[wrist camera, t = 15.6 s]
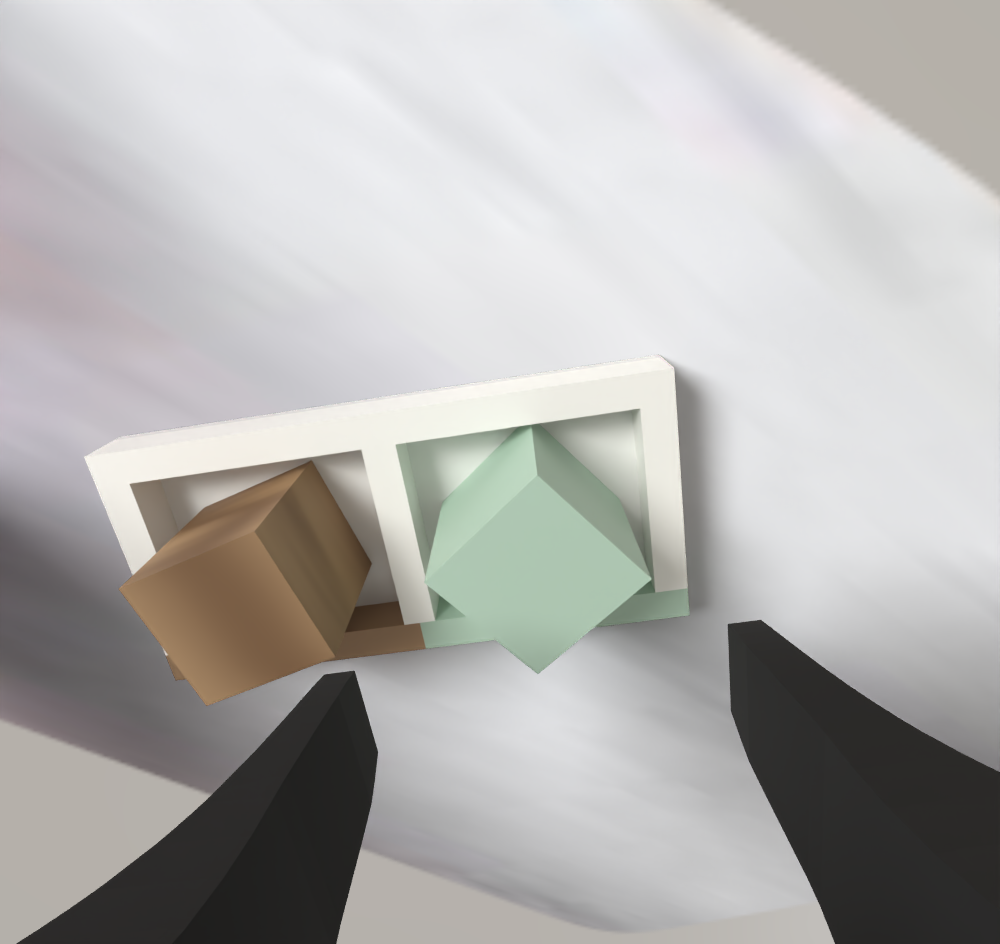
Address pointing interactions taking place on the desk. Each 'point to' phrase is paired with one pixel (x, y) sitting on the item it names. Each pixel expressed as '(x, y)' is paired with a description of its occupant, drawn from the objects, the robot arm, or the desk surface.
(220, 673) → the walnut block
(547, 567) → the sage block
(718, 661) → the desk surface
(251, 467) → the slot board
